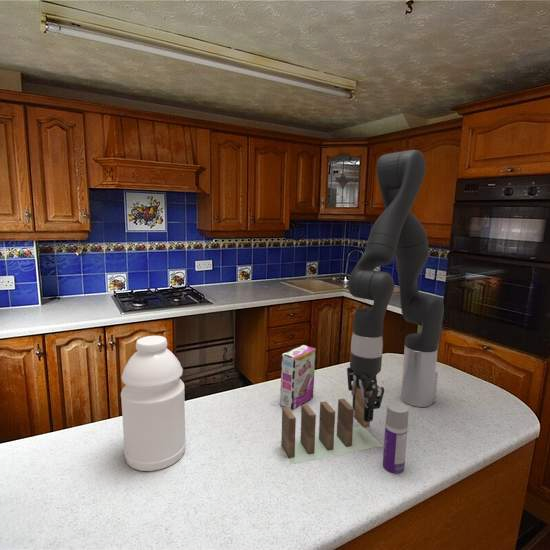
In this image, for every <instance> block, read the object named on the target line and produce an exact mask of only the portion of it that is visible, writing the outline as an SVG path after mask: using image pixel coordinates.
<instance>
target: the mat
mask: <svg viewBox="0 0 550 550" xmlns="http://www.w3.org/2000/svg"><path fill="white" fill-rule="evenodd" d="M300 437H301V436H299V437H295V457H293V458H288V457H287V455H286V453H285V452H284V450H283V448H282V446H281V440H278V441H277V442H278V444H279V446H280V448H281V450H282V451H283V453H284V455H285V456H286V459H287V461H288V462H289V463H288V464H289V465H293V464H295V465H296V464H299V463H304V462H309V461H315V460H319V459H320V460H321V459H325V458H328V457H333V456H334V457H335V456H339V455H344V454H349V453H355V452H358V451H363V450H368V449H374V448H379V447H382V444H381V443H380V442H379V441H378V440H377V439H376V438H375V437H374V436H373V435H372V434H371V433H370V432H369V431H368V430H367V429H366V428H363V427H362V426H361V425H360V426H359V425H358V426H355V427H354V426H353V434H352V446H349V447H345V445H344V444H343V443H342V442H341V440H340V439H339V438H338V437H337V430H334V448H333V450H329V451H327V450H326V448H325V447H324V445H323V444H322V443H321V441H320V440H319V433H315V451H314V454H309V455H308V454H307V452H306V450H305V449H304V447H303V446H302V444H301V442H300Z"/></svg>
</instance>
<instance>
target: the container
mask: <svg viewBox="0 0 550 550" xmlns="http://www.w3.org/2000/svg"><path fill="white" fill-rule="evenodd" d="M408 426H409V407H408V406H407V405H406V404H404V403H402V402H397V401H394V402H389V403H387V406H386V417H385V426H384V438H383V453H382V468H383V469H384V470H385V472H387V473H389V474H392V475H401V474H403V473H404V471H405V462H406V451H407V450H406V449H407V439H408Z"/></svg>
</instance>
